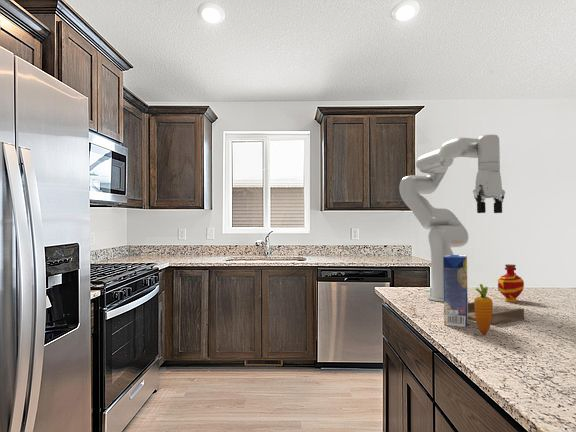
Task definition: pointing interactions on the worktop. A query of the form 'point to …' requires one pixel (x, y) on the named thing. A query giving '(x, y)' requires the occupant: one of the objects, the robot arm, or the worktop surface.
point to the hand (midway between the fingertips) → (489, 213)
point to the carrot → (483, 310)
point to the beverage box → (455, 290)
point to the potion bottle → (510, 284)
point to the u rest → (498, 315)
